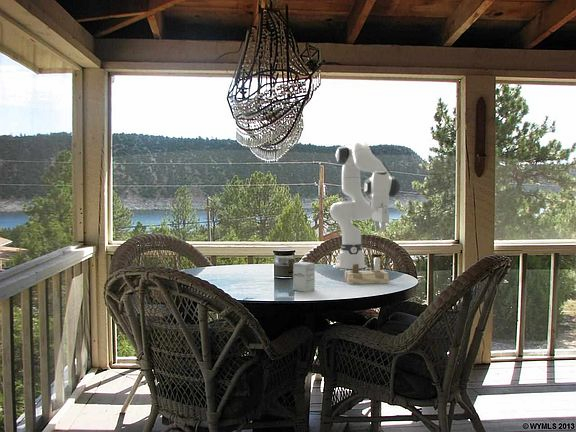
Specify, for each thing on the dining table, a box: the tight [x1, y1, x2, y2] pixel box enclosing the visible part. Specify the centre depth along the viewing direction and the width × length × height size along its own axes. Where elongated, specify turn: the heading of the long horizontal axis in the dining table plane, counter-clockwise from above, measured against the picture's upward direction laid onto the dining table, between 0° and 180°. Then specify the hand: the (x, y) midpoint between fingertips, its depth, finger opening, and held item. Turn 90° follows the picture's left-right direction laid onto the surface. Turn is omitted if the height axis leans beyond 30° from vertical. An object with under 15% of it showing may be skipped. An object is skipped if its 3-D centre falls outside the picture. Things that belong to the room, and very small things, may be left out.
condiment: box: [370, 253, 383, 271], centre depth 290 cm, size 7×8×12 cm
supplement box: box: [292, 261, 316, 293], centre depth 251 cm, size 7×7×13 cm
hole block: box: [344, 269, 389, 285], centre depth 273 cm, size 9×20×5 cm, turn 96°
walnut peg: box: [352, 264, 360, 273], centre depth 273 cm, size 3×3×9 cm
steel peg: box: [374, 258, 380, 273], centre depth 274 cm, size 3×3×12 cm
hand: (379, 230), depth 275 cm, fingers open, 8 cm apart
